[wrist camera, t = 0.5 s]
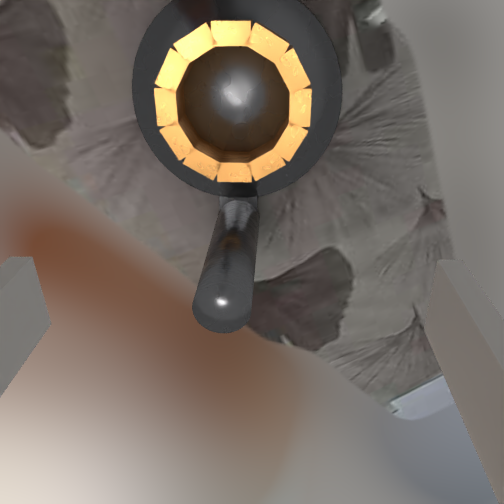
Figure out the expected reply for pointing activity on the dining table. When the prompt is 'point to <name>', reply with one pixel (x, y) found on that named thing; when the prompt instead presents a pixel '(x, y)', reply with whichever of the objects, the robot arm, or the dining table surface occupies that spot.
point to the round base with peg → (235, 121)
